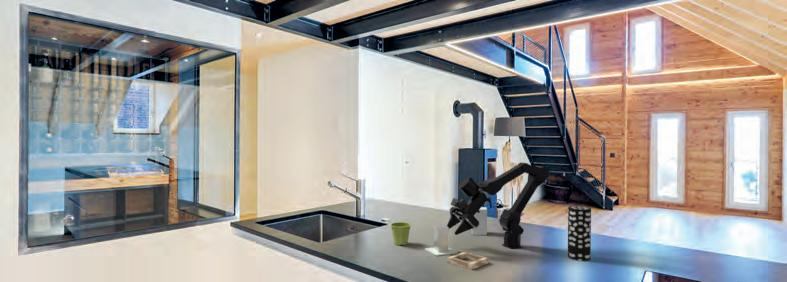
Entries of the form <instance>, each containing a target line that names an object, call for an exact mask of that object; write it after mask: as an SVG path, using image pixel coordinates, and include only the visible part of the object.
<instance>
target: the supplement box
mask: <svg viewBox="0 0 787 282" xmlns="http://www.w3.org/2000/svg"><path fill="white" fill-rule="evenodd" d="M479 211H480V212H479V213H476V214H475V215H474V217H475V218H476V219H477V220H478V221H479V226H478V227H477V228H475V227H474V229H471V235H475V236H487V234H488V230H487V229H488V208H487V207H484V206H482V207H481V208H480V209H479Z"/></svg>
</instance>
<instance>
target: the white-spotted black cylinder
mask: <svg viewBox="0 0 787 282" xmlns="http://www.w3.org/2000/svg"><path fill="white" fill-rule="evenodd" d="M591 236H592V208H591V207H588V206H583V205H582V206H580V205H570V206H568V207H567V258H568V259H570V260H573V261H580V262H588V261H591V253H592V252H591V251H592V249H591V248H592V247H591V245H592V244H591V243H592V242H591V241H592V239H591V238H592V237H591Z"/></svg>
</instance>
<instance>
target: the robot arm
mask: <svg viewBox="0 0 787 282" xmlns="http://www.w3.org/2000/svg"><path fill="white" fill-rule="evenodd" d="M523 174H527V182H526V183H525V185H524V186H523V188H522V190H521V191H520V193H519V194H518V196H517V198H516V199H515V201H514V203H513V204H512V206H511V207H510V208H509V209H506V208H504V209H503V210H502V213H501V214H500V215H499V219H498V222H499V224H500V226H501V227H502V231H504V235H503V243H501V245H502V246H504V247H506V248H509V249H512V250H513V249H519V248H523V247H524V246H523V245H521V242H522V241H521V237H522V236H521V235H523V234H524V231H525V229H524V228H523V227H522V226H521V225H520V222H521V220H522V219H521V217H522V216H521V215H522V213H523V212H524V210H525V208H526V207H527V205H528V203H529V202H530V200H531V198H532V197H533V196H534V193H536V190H537V189H538V187H540V186H541V185H543V184H544V183H545V182H546V181H547V180H548V179H549V178H550V169H549V168H548V167H547V166H540V165H533V164H531V163H530V164H529V163H527V162H518V163H517V165H515V166H513V167H511V168H510V169H508V170H507V171H505V172H503V173H501V174H500V175H498V176H496V177H491V178H488V179H485V180H483V181H482V182H481V183H477V182H476V181H475V180H474V179H473V177H471V176H468V177H467V178H465V179H463V180H461V182H460V183H459V184H458V189H459V190H460V191H461V192H462V193H463V194H464V195H465V196H466V197H468V198H469V197H470V199H468V200H465V199H464V198H460V200H459V199H457V198H454V197H453V198H452V201H451V203H450V205H451V207H450V208H449V214H450V215H449V216H450V218H449V220H448V223H446V226H447V227H449V230H450V229H452V228H453V227H455V226H456V225H458V224H459V223H460V224H459V226H458V227H457V229H455V232H454V235H455V236H457V235H460V234H462V233H464V232H467V231H469V230H472V229H474V227H475V228H477V227H478V226H479V221H478V220H477V219H476V218H475V217H474V215H475V214H476V213H479V212H480V211H479V209H480V208H481V207H484V205H485V204H492V197H491V196H495V195H497V194H498V193H499V192H500V191H501V190H502V189H503V187H504V186H505V185H507V184H509V183H510V182H512V181H513V180H515V179H516V178H518V177H520V176H521V175H523ZM487 195H490V196H487Z"/></svg>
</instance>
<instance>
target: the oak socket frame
mask: <svg viewBox="0 0 787 282" xmlns="http://www.w3.org/2000/svg"><path fill="white" fill-rule="evenodd" d="M465 259H467V260H471V261H466V260H465ZM447 264H450V265H453V266H458V267H461V268H464V269H466V270H467V269H468V270H470V271H471V270H476V269H478V268H480V267H482V266H485V265H488V264H489V257H486V256H482V255H479V254H475V253H470V252H467V251H464V252H460V253H457V254H453V255H451V256H448V257H447Z"/></svg>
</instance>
